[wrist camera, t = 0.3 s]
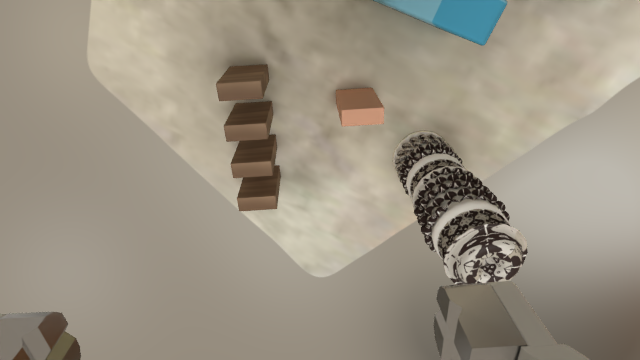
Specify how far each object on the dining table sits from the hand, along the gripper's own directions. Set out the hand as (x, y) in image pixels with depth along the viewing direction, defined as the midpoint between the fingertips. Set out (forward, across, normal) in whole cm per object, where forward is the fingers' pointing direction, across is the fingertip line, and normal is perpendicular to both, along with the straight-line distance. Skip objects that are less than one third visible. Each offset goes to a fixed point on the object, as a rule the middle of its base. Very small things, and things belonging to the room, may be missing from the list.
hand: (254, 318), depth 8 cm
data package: (+46, -15, -4) cm, 49 cm away
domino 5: (+46, -7, +8) cm, 47 cm away
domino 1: (+46, +7, +4) cm, 47 cm away
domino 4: (+46, +6, +19) cm, 50 cm away
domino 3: (+46, +7, +14) cm, 49 cm away
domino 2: (+46, +7, +9) cm, 47 cm away
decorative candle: (+46, -17, +18) cm, 53 cm away
